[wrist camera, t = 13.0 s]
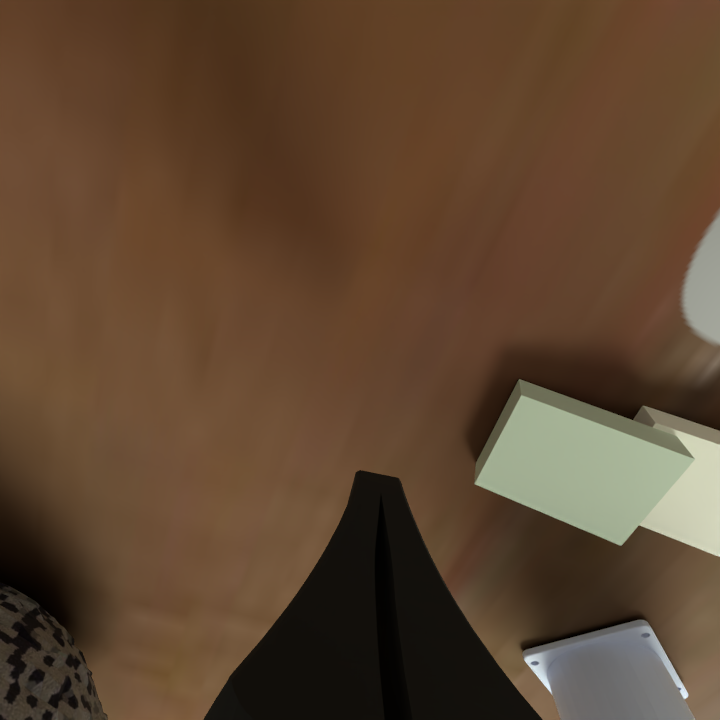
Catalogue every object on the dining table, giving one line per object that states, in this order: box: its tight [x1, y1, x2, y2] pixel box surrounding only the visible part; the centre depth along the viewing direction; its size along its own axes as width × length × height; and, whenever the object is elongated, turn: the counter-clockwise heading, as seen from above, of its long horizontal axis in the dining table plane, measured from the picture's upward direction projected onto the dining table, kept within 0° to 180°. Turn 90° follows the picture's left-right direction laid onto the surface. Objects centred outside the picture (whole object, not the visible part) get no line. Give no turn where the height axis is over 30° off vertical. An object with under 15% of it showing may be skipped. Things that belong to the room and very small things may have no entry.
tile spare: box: [474, 379, 695, 546], centre depth 16 cm, size 2×5×6 cm
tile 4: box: [633, 406, 720, 557], centre depth 17 cm, size 2×5×6 cm
